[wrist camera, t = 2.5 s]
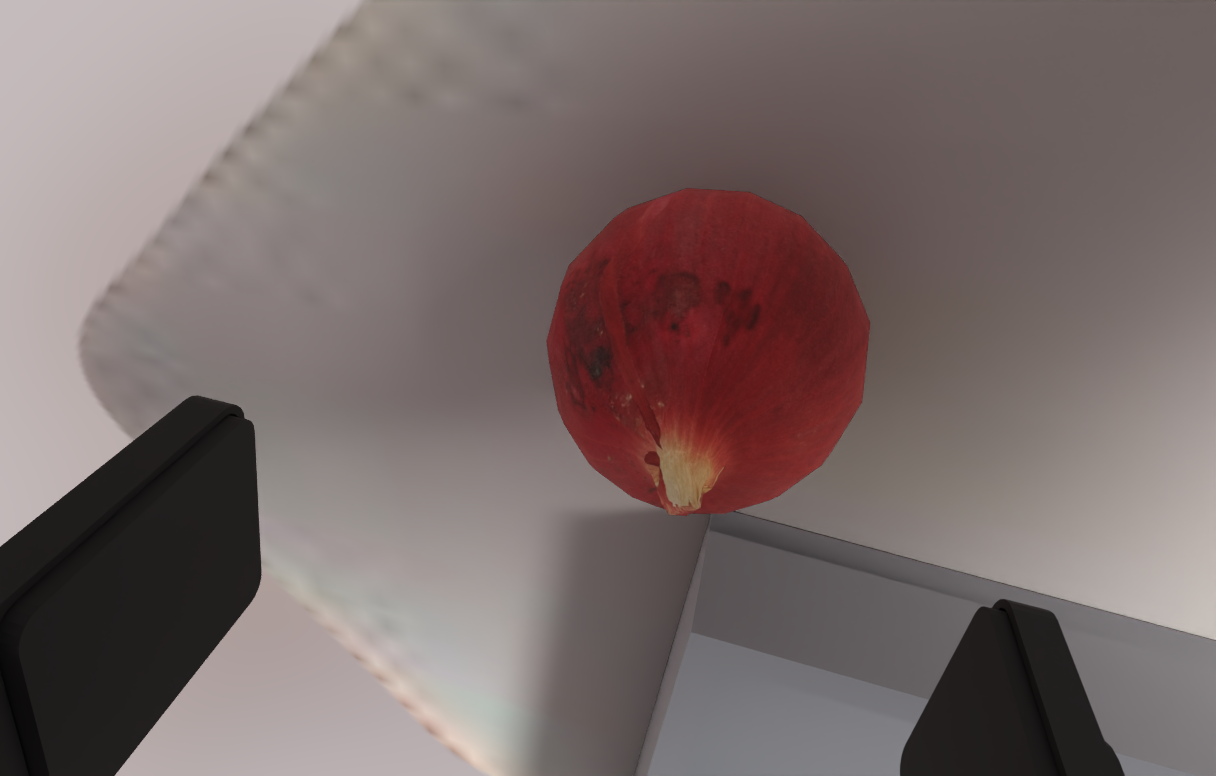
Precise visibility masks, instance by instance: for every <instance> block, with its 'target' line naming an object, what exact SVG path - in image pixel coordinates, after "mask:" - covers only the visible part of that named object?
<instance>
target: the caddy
mask: <svg viewBox="0 0 1216 776" xmlns="http://www.w3.org/2000/svg"><path fill="white" fill-rule="evenodd" d="M1000 599H1007V600H1011V601H1015V602H1019V603H1023V604H1027V605H1031V606H1035V607H1039V608H1043V609H1047V610H1050V611H1051V612H1053V613H1054V614H1055V616H1056V618H1057V620H1058V622H1059V624H1060V627H1061V630H1062V632H1063V635H1064V637H1065V640H1066V642H1067V645H1068V648H1069V650H1070V653H1071V655H1072V658H1073V661H1074V663H1075V666H1076V668H1077V671H1078V673H1079V676H1080V679H1081V681H1082V684H1083V686H1084V689H1085V691H1086V694H1087V697H1088V699H1089V702H1090V704H1091V707H1092V710H1093V712H1094V715H1095V717H1096V720H1097V722H1098V725H1099V728H1100V730H1101V733H1102V735H1103V738H1104V740H1105V741H1106V742H1107V743H1108V744H1109V745H1110V746H1111V747H1112V748H1113V750H1114V752H1115V754H1116V756H1117V757H1118V759H1119V761H1120V764H1121V766H1122V769H1123V772H1124V774H1125V776H1216V641H1214V640H1211V639H1207V638H1203V637H1199V636H1196V635H1192V634H1188V633H1185V632H1181V631H1177V630H1173V629H1170V628H1166V627H1162V626H1158V625H1155V624H1151V623H1147V622H1143V621H1140V620H1136V619H1132V618H1129V617H1125V616H1121V615H1117V614H1114V613H1110V612H1106V611H1102V610H1099V609H1095V608H1091V607H1088V606H1084V605H1080V604H1076V603H1073V602H1069V601H1065V600H1061V599H1058V598H1054V597H1050V596H1046V595H1043V594H1039V593H1035V592H1032V591H1028V590H1024V589H1020V588H1017V587H1013V586H1009V585H1005V584H1002V583H998V582H994V581H991V580H987V579H983V578H979V577H976V576H972V575H968V574H964V573H961V572H957V571H953V570H950V569H946V568H942V567H938V566H935V565H931V564H927V563H923V562H920V561H916V560H912V559H908V558H905V557H901V556H897V555H894V554H890V553H886V552H882V551H879V550H875V549H871V548H867V547H864V546H860V545H856V544H853V543H849V542H845V541H841V540H838V539H834V538H830V537H826V536H823V535H819V534H815V533H812V532H808V531H804V530H800V529H797V528H793V527H789V526H785V525H782V524H778V523H774V522H770V521H767V520H763V519H759V518H756V517H752V516H748V515H744V514H741V513H737V512H733V511H732V512H729V513H726V514H711V516H710V519H709V523H708V526H707V529H706V533H705V536H704V540H703V543H702V546H701V550H700V553H699V557H698V560H697V563H696V567H695V570H694V574H693V577H692V580H691V584H690V587H689V591H688V594H687V597H686V601H685V604H684V607H683V611H682V614H681V618H680V621H679V624H678V628H677V631H676V635H675V638H674V641H673V645H672V648H671V652H670V655H669V658H668V662H667V665H666V669H665V672H664V675H663V679H662V682H661V686H660V689H659V692H658V696H657V699H656V702H655V706H654V709H653V713H652V716H651V719H650V723H649V726H648V730H647V733H646V736H645V740H644V743H643V747H642V750H641V753H640V757H639V760H638V764H637V767H636V770H635V774H634V776H900V762H901V756H902V752H903V749H904V746H905V744H906V742H907V740H908V738H909V737H910V735H911V733H912V731H913V729H914V727H915V725H916V723H917V722H918V720H919V718H920V716H921V714H922V712H923V710H924V708H925V706H926V705H927V703H928V701H929V699H930V697H931V695H932V693H933V691H934V690H935V688H936V686H937V684H938V682H939V680H940V678H941V676H942V674H943V673H944V671H945V669H946V667H947V665H948V663H949V661H950V659H951V658H952V656H953V654H954V652H955V650H956V648H957V646H958V644H959V642H960V641H961V639H962V637H963V635H964V633H965V631H966V629H967V627H968V626H969V624H970V622H971V620H972V618H973V616H974V614H975V613H976V611H977V610H978V609H979V608H980V607H982V606H985V607H989V608H992V607H993V605H994V604H995V603H996V602H997V601H998V600H1000Z"/></svg>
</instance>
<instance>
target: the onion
mask: <svg viewBox="0 0 1216 776" xmlns="http://www.w3.org/2000/svg"><path fill="white" fill-rule="evenodd" d="M869 330H870V321H869V318H868V316H867V314H866V311H865V309H864V306H863V304H862V301H861V299H860V296H859V294H858V291H857V289H856V286H855V284H854V281H853V279H852V276H851V274H850V272H849V269H848V267H847V265H846V264H845V263H844V262H843V260H842V259H841V258H840V256H839V255H838V254H837V253H836V252H835V251H834V250H833V249H832V248H831V247H830V246H829V245H828V244H827V243H826V242H825V241H824V239H823V238H822V237H821V236H820V235H819V234H818V233H817V232H816V231H815V230H814V229H813V228H812V227H811V226H810V225H809V224H808V223H807V221H806V220H805V219H804V218H803V217H802V216H800V215H798V214H796V213H793V212H791V211H789V210H787V209H785V208H783V207H780V206H778V205H776V204H774V203H772V202H770V201H768V200H765V199H763V198H761V197H759V196H757V195H755V194H752V193H750V192H740V191H724V190H708V189H692V188H686V189H683V190H680V191H677V192H674V193H671V194H668V195H666V196H663V197H660V198H657V199H654V200H651V201H648V202H645V203H642V204H639V205H636V206H633V207H630V208H627V209H626V210H625V211H623V212H622V213H621V214H619V215H618V216H616V217H615V218H614V219H613V220H612V221H611V222H610V223H609V224H608V225H607V226H606V227H605V228H604V229H603V230H602V231H601V232H600V233H599V234H598V235H597V236H596V238H595V239H594V240H593V241H592V242H591V243H590V244H589V245H588V246H587V247H586V248H585V249H584V250H583V251H582V252H581V253H580V254H579V255H578V256H577V257H576V259H575V260H574V261H573V262H572V263H571V264H570V265H569V267H568V270H567V272H566V275H565V278H564V280H563V283H562V285H561V289H560V292H559V296H558V300H557V304H556V307H555V311H554V315H553V319H552V323H551V326H550V330H549V334H548V338H547V348H548V357H549V364H550V369H551V374H552V380H553V385H554V390H555V396H556V401H557V406H558V411H559V413H560V415H561V418H562V420H563V423H564V425H565V426H566V428H567V430H568V431H569V433H570V434H571V436H572V437H573V439H574V441H575V442H576V444H577V445H578V447H579V449H580V450H581V452H582V453H583V455H584V456H585V458H586V460H587V461H588V463H589V464H590V465H591V466H592V467H593V468H594V469H595V470H596V471H598V472H599V473H600V474H602V475H603V476H604V477H606V478H607V479H608V480H610V481H611V482H612V483H614V484H615V485H616V486H618V487H619V488H621V489H622V490H623V491H625V492H626V493H627V494H629V495H630V496H631V497H633V498H636V499H639V500H641V501H644V502H647V503H649V504H652V505H655V506H657V507H660V508H663V509H666V510H667V512H668V513H669V515H681V516H687V515H688V514H690V513H698V514H726V513H729V512H732V511H736V510H739V509H742V508H745V507H749V506H752V505H755V504H759V503H762V502H765V501H768V500H771V499H773V498H775V497H778V496H780V495H781V494H782V493H784V492H785V491H787V490H788V489H789V488H791V487H792V486H793V485H795V484H796V483H798V482H799V481H800V480H802V479H803V478H804V477H806V476H807V475H809V474H810V473H811V472H813V471H814V470H815V469H817V468H818V467H820V466H821V465H822V464H823V462H824V461H825V460H826V458H827V457H828V456H829V454H830V453H831V452H832V450H833V448H834V447H835V445H836V444H837V442H838V440H839V439H840V437H841V435H842V434H843V432H844V430H845V429H846V427H847V426H848V424H849V422H850V421H851V419H852V417H853V416H854V414H855V413H856V411H857V409H858V408H859V406H860V404H861V403H862V398H863V389H864V380H865V370H866V360H867V350H868V341H869Z"/></svg>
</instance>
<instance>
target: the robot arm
mask: <svg viewBox="0 0 1216 776" xmlns="http://www.w3.org/2000/svg"><path fill="white" fill-rule="evenodd" d="M260 580H261V554H260V533H259V512H258V492H257V471H256V450H255V431H254V425H253V424H252V422H251V421H249V420H247V419H245V418H244V413H243V411H242V409H241V408H240V407H238V406H237V405H233V404H229V403H225V402H221V401H217V400H213V399H209V398H205V397H201V396H191V397H189V398H188V399H186V400H184V401H183V402H182V403H181V404H179V405H178V406H177V407H176V408H174V409H173V410H172V411H171V412H169V413H168V414H167V415H166V416H164V417H163V418H162V419H160V420H159V421H158V422H157V423H155V424H154V425H153V426H152V427H150V428H149V429H148V430H147V431H145V432H144V433H143V434H142V435H140V436H139V437H138V438H137V439H135V440H134V441H133V442H132V443H130V444H129V445H128V446H127V447H125V448H124V449H123V450H121V451H120V452H119V453H118V454H116V455H115V456H114V457H113V458H112V459H110V460H109V461H108V462H106V463H105V464H104V465H103V466H101V467H100V468H99V469H98V470H96V471H95V472H94V473H93V474H91V475H90V476H89V477H87V478H86V479H85V480H84V481H83V482H81V483H80V484H79V485H77V486H76V487H75V488H74V489H72V490H71V491H70V492H69V493H67V494H66V495H65V496H64V497H62V498H61V499H60V500H59V501H57V502H56V503H55V504H54V505H52V506H51V507H50V508H49V509H47V510H46V511H45V512H43V513H42V514H41V515H40V516H38V517H37V518H36V519H35V520H33V521H32V522H31V523H30V524H28V525H27V526H26V527H25V528H23V529H22V530H21V531H19V532H18V533H17V534H16V535H14V536H13V537H12V538H11V539H9V540H8V541H7V542H6V543H4V544H3V545H2V546H1V547H0V776H115V774H116V773H117V772H118V771H119V769H120V768H121V767H122V765H123V764H124V763H125V762H126V760H127V759H128V758H129V757H130V755H131V754H132V753H133V752H134V750H135V749H136V748H137V746H138V745H139V744H140V742H141V741H142V740H143V739H144V738H145V736H146V735H147V734H148V732H149V731H150V730H151V729H152V727H153V726H154V725H155V724H156V722H157V721H158V720H159V718H160V717H161V716H162V714H163V713H164V712H165V711H166V710H167V708H168V707H169V706H170V705H171V703H172V702H173V701H174V699H175V698H176V697H177V696H178V694H179V693H180V692H181V691H182V689H183V688H184V687H185V686H186V684H187V683H188V682H189V680H190V679H191V678H192V677H193V675H194V674H195V673H196V671H197V670H198V669H199V668H200V666H201V665H202V664H203V662H204V661H205V660H206V659H207V658H208V656H209V655H210V653H211V652H212V651H213V650H214V649H215V647H216V646H217V645H218V644H219V642H220V641H221V640H222V639H223V637H224V636H225V635H226V633H227V632H228V631H229V630H230V628H231V627H232V626H233V625H234V623H235V622H236V621H237V619H238V618H239V617H240V616H241V614H242V613H243V612H244V610H245V609H246V608H247V607H248V606H249V604H250V603H251V602H252V600H253V598H254V597H255V595H256V592H257V590H258V588H259V585H260ZM900 776H1125V774H1124V772H1123V769H1122V766H1121V764H1120V761H1119V759H1118V757H1117V756H1116V754H1115V752H1114V750H1113V748H1112V747H1111V746H1110V745H1109V744H1108V743H1107V742H1106V741H1105V740H1104V738H1103V735H1102V733H1101V730H1100V728H1099V725H1098V722H1097V720H1096V717H1095V715H1094V712H1093V710H1092V707H1091V704H1090V702H1089V699H1088V697H1087V694H1086V691H1085V689H1084V686H1083V684H1082V681H1081V679H1080V676H1079V673H1078V671H1077V668H1076V666H1075V663H1074V661H1073V658H1072V655H1071V653H1070V650H1069V648H1068V645H1067V642H1066V640H1065V637H1064V635H1063V632H1062V630H1061V627H1060V624H1059V622H1058V620H1057V618H1056V616H1055V614H1054V613H1053V612H1051V611H1050V610H1047V609H1043V608H1039V607H1035V606H1031V605H1027V604H1023V603H1019V602H1015V601H1011V600H1007V599H1000V600H998V601H997V602H996V603H995V604H994V605H993V607H992V608H989V607H985V606H982V607H980V608H979V609H978V610H977V611H976V613H975V614H974V616H973V618H972V620H971V622H970V624H969V626H968V627H967V629H966V631H965V633H964V635H963V637H962V639H961V641H960V642H959V644H958V646H957V648H956V650H955V652H954V654H953V656H952V658H951V659H950V661H949V663H948V665H947V667H946V669H945V671H944V673H943V674H942V676H941V678H940V680H939V682H938V684H937V686H936V688H935V690H934V691H933V693H932V695H931V697H930V699H929V701H928V703H927V705H926V706H925V708H924V710H923V712H922V714H921V716H920V718H919V720H918V722H917V723H916V725H915V727H914V729H913V731H912V733H911V735H910V737H909V738H908V740H907V742H906V744H905V746H904V749H903V752H902V756H901V762H900Z"/></svg>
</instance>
